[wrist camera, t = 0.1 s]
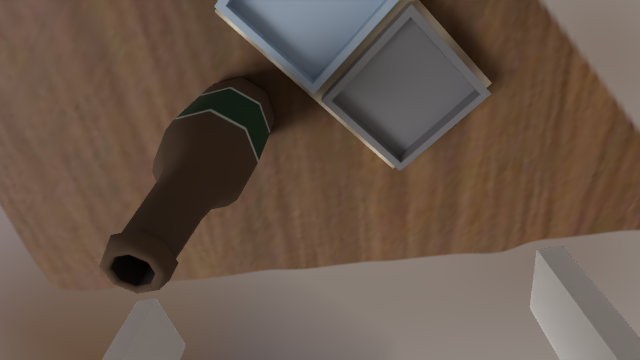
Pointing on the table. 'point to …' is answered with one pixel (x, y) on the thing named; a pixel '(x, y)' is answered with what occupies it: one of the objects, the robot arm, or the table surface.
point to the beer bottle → (191, 181)
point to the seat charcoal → (405, 89)
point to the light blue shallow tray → (306, 31)
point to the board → (361, 47)
